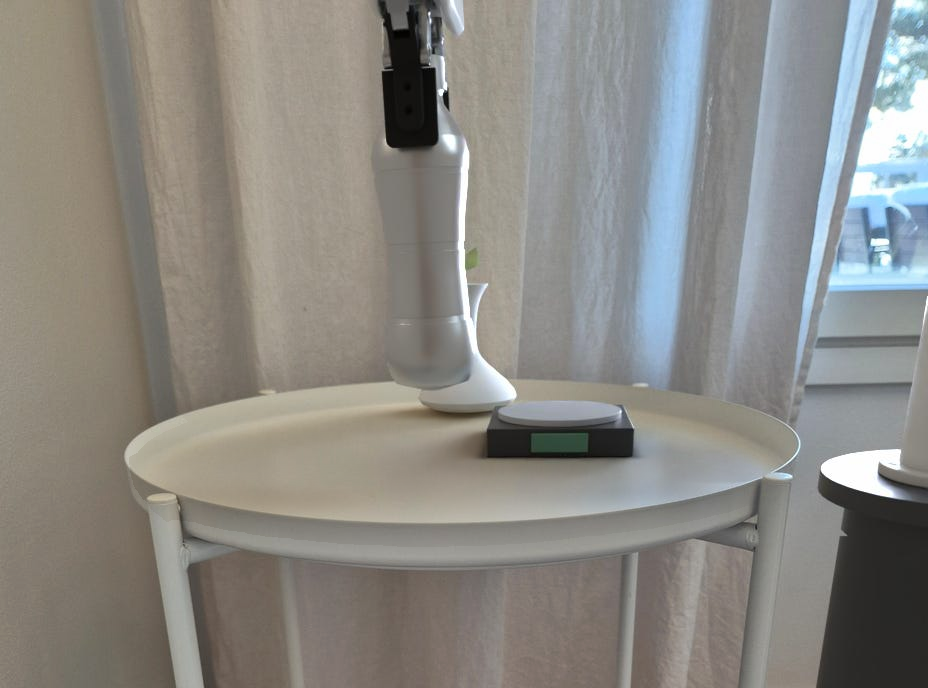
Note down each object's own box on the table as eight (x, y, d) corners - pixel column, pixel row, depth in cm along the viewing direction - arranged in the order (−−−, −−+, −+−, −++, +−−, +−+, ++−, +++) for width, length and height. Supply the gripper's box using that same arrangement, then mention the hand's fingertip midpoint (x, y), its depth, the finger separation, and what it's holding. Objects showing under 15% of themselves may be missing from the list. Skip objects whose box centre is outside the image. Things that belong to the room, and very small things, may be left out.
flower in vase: (476, 400, 111) (473, 175, 101) (536, 410, 102) (540, 166, 92) (388, 413, 104) (375, 172, 94) (445, 425, 95) (438, 162, 85)
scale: (622, 429, 91) (623, 398, 90) (633, 457, 78) (635, 422, 77) (495, 430, 92) (495, 399, 91) (486, 458, 80) (486, 423, 79)
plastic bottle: (419, 400, 59) (398, 45, 51) (370, 389, 65) (344, 66, 56) (496, 388, 62) (489, 52, 54) (444, 379, 68) (430, 71, 59)
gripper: (453, -301, 42) (467, 133, 49) (480, -153, 58) (487, 160, 65) (298, -282, 43) (334, 142, 50) (366, -141, 58) (386, 166, 66)
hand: (420, 149), depth 57 cm, fingers closed on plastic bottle, 6 cm apart
